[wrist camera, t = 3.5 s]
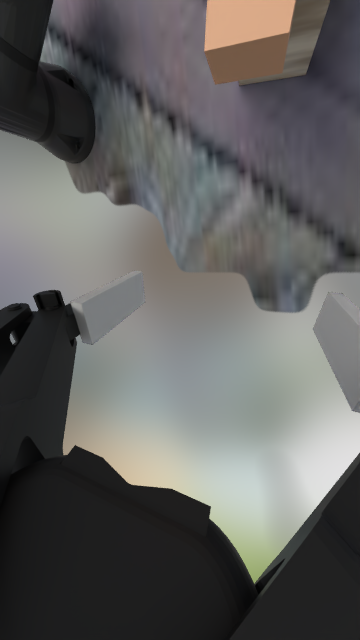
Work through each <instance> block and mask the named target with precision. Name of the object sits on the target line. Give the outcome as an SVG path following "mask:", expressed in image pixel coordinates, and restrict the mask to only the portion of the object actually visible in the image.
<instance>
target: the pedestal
mask: <svg viewBox="0 0 360 640" xmlns="http://www.w3.org/2000/svg"><path fill="white" fill-rule="evenodd" d="M329 3H330V0H296V5H295V10H294V15H293V21H292V26H291V31H290V36H289V41H288V47H287V52H286V57H285V62H284V68H283V73H281V74H275V75H269V76H263V77H257V78H251V79H245V80H239V86H240V85H247V84H253V83H259V82H265V81H272V80H278V79H284V78H290V77H296V76H303V75H306V72H307V69H308V66H309V63H310V60H311V57H312V54H313V51H314V48H315V45H316V42H317V39H318V36H319V33H320V30H321V27H322V24H323V21H324V18H325V15H326V12H327V9H328V6H329Z"/></svg>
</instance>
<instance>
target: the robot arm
mask: <svg viewBox="0 0 360 640" xmlns="http://www.w3.org/2000/svg"><path fill="white" fill-rule="evenodd" d="M52 4H53V0H0V130H2V131H5V132H8V133H11V134H14V135H17V136H20V137H23V138H26V139H29V140H33V141H35V142H37V143H39V144H40V145H41V146H43V147H44V148H45V149H47V150H48V151H49V152H51V153H52V154H53V155H55V156H56V157H58V158H60V159H62V160H64V161H68V162H71V163H78V162H81V161H82V160H84V159H85V158H86V157H87V156H88V154H89V153H90V151H91V148H92V145H93V142H94V136H95V120H94V113H93V108H92V105H91V101H90V99H89V96H88V94H87V92H86V90H85V88H84V87H83V85H82V84H81V82H80V81H79V80H78V79H77V78H76V77H75V76H74V75H72V74H71V73H70V72H68V71H67V70H66V69H64V68H63V67H61V66H58V65H55V64H50V63H45V62H41V61H40V57H41V53H42V48H43V44H44V40H45V35H46V31H47V26H48V22H49V17H50V13H51V8H52ZM33 297H34V300H35V302H36V305H37V307H38V311H37V312H36V311H31V309H30V307H29V305H28V304H26V303H20V304H18V303H16V304H11V305H9V306H7V307H5V308H3V309H1V310H0V640H360V453H359V454H358V456H357V457H356V458H355V460H354V461H353V462H352V463H351V465H350V466H349V467H348V469H347V470H346V471H345V472H344V474H343V475H342V476H341V477H340V478H339V480H338V481H337V482H336V483H335V485H334V486H333V487H332V488H331V490H330V491H329V492H328V494H327V495H326V496H325V497H324V499H323V500H322V501H321V502H320V504H319V505H318V506H317V507H316V509H315V510H314V511H313V512H312V514H311V515H310V516H309V517H308V519H307V520H306V521H305V522H304V524H303V525H302V526H301V527H300V529H299V530H298V531H297V533H296V534H295V535H294V536H293V538H292V539H291V540H290V541H289V543H288V544H287V545H286V546H285V548H284V549H283V550H282V551H281V552H280V554H279V555H278V556H277V557H276V558H275V559H274V560H273V562H272V563H271V564H270V565H269V566H268V568H267V569H266V570H265V571H264V572H263V574H262V575H261V576H260V577H259V579H258V580H257V581H256V582H255V584H254V583H253V580H252V578H251V576H250V574H249V572H248V570H247V568H246V566H245V564H244V562H243V560H242V559H241V557H240V555H239V554H238V552H237V550H236V549H235V547H234V546H233V544H232V543H231V542H230V540H229V539H228V537H227V536H226V535H225V534H224V533H223V532H222V531H221V529H220V528H219V527H218V526H217V525H216V524H215V523H214V522H213V521H211V520H210V519H209V515H210V509H211V506H208V505H206V504H204V503H202V502H200V501H197V500H195V499H193V498H191V497H188V496H186V495H184V494H182V493H179V492H177V491H175V490H173V489H168V488H158V487H147V486H137V485H131V484H129V483H127V482H126V481H125V480H124V479H123V478H122V477H121V476H120V475H119V474H118V473H117V472H116V471H115V470H114V469H113V468H112V467H111V466H110V465H109V464H108V463H107V462H106V461H105V460H104V458H102V457H100V456H98V455H95V454H93V453H91V452H89V451H86V450H84V449H82V448H80V447H78V446H76V445H75V446H74V447H73V448H72V450H71V451H70V453H69V454H68V455H63V438H64V431H65V424H66V417H67V410H68V403H69V396H70V388H71V381H72V375H73V367H74V360H75V353H76V346H77V341H76V338H75V337H77V336H78V335H80V336H81V339H82V342H83V343H87V344H91V345H93V344H94V343H95V342H97V341H98V340H99V339H101V338H102V337H103V336H104V335H106V333H108V332H109V331H110V330H112V329H113V328H114V327H115V326H116V325H118V324H119V323H120V322H122V321H123V320H124V319H125V318H126V317H128V316H129V315H130V314H131V313H132V312H134V311H135V310H136V309H137V308H139V307H140V306H141V305H142V304H143V303H145V295H144V286H143V275H142V272H141V271H133V272H131V273H128V274H126V275H124V276H122V277H120V278H118V279H116V280H114V281H112V282H110V283H108V284H106V285H103V286H101V287H99V288H97V289H95V290H93V291H91V292H89V293H87V294H85V295H83V296H81V297H79V298H77V299H74V300H73V301H70V304H68V305H66V306H65V304H64V301H63V298H62V295H61V292H60V291H58V290H49V291H43V292H39V293H37V294H35V295H34V296H33ZM313 330H314V333H315V334H316V337H317V339H318V341H319V343H320V345H321V347H322V349H323V351H324V353H325V355H326V357H327V360H328V362H329V364H330V366H331V368H332V370H333V372H334V374H335V376H336V378H337V380H338V382H339V384H340V387H341V389H342V391H343V393H344V395H345V397H346V399H347V401H348V403H349V405H350V407H351V409H352V411H355V412H359V413H360V309H359V308H358V307H357V306H356V305H355V304H353V303H352V302H351V301H350V300H349V299H348V298H347V297H346V296H345V295H344V294H343V293H333V292H328V294H327V297H326V299H325V301H324V304H323V306H322V309H321V311H320V313H319V316H318V318H317V320H316V323H315V325H314V328H313ZM10 334H12V335H13V338H14V340H15V341H16V342H15V343H14V344H12V343H11V341H10Z"/></svg>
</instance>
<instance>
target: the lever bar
mask: <svg viewBox="0 0 360 640" xmlns="http://www.w3.org/2000/svg"><path fill="white" fill-rule="evenodd" d="M295 5H296V0H207V15H206V33H205V50H204V51H205V54H206V58H207V61H208V64H209V67H210V70H211V73H212V76H213V79H214V82H215V85H216V84H222V83H227V82H233V81H239V80H245V79H251V78H257V77H263V76H269V75H275V74H281V73H283V68H284V62H285V57H286V52H287V47H288V41H289V36H290V31H291V26H292V21H293V15H294V10H295Z"/></svg>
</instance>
